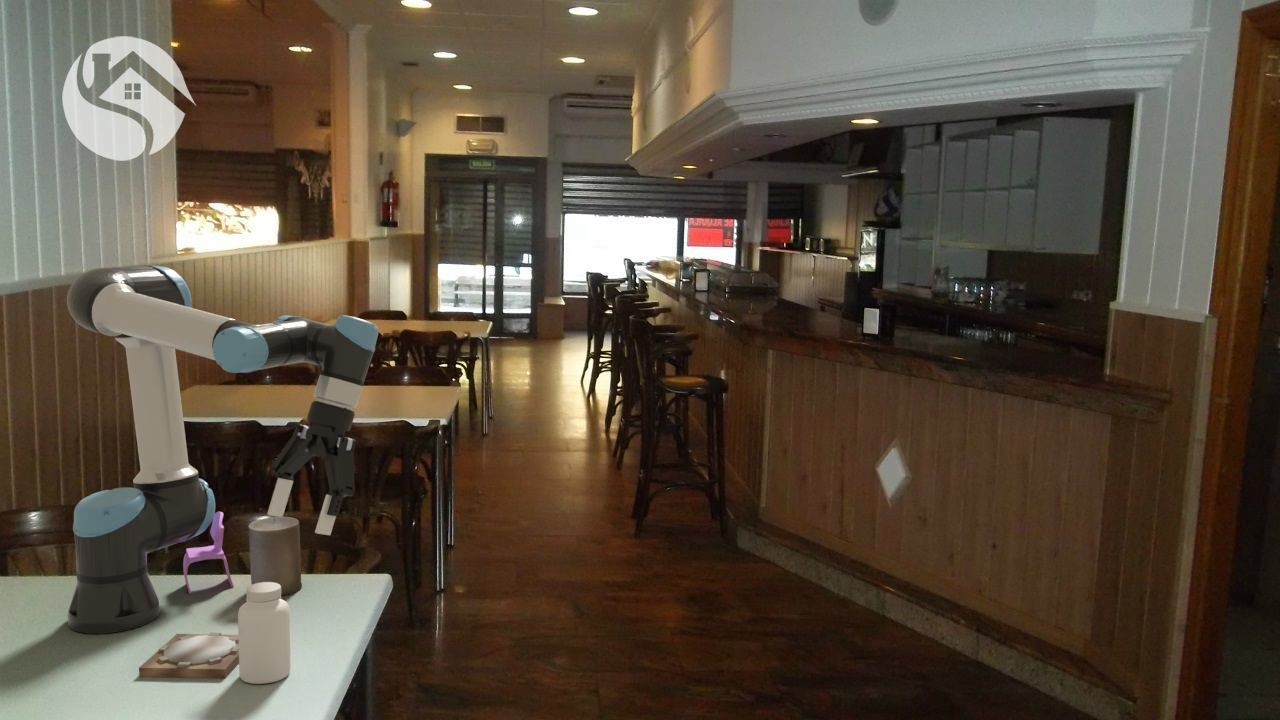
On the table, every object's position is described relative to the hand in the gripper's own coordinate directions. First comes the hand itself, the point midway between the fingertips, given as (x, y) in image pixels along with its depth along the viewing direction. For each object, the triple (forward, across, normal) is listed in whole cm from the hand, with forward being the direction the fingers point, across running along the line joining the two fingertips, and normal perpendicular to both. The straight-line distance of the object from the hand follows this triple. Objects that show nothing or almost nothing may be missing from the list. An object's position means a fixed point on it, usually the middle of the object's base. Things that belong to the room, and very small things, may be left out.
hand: (298, 524), depth 178 cm
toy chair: (+20, +40, -15) cm, 48 cm away
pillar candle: (+17, +29, -22) cm, 40 cm away
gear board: (+26, +9, +4) cm, 28 cm away
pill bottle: (+24, -5, +1) cm, 25 cm away
